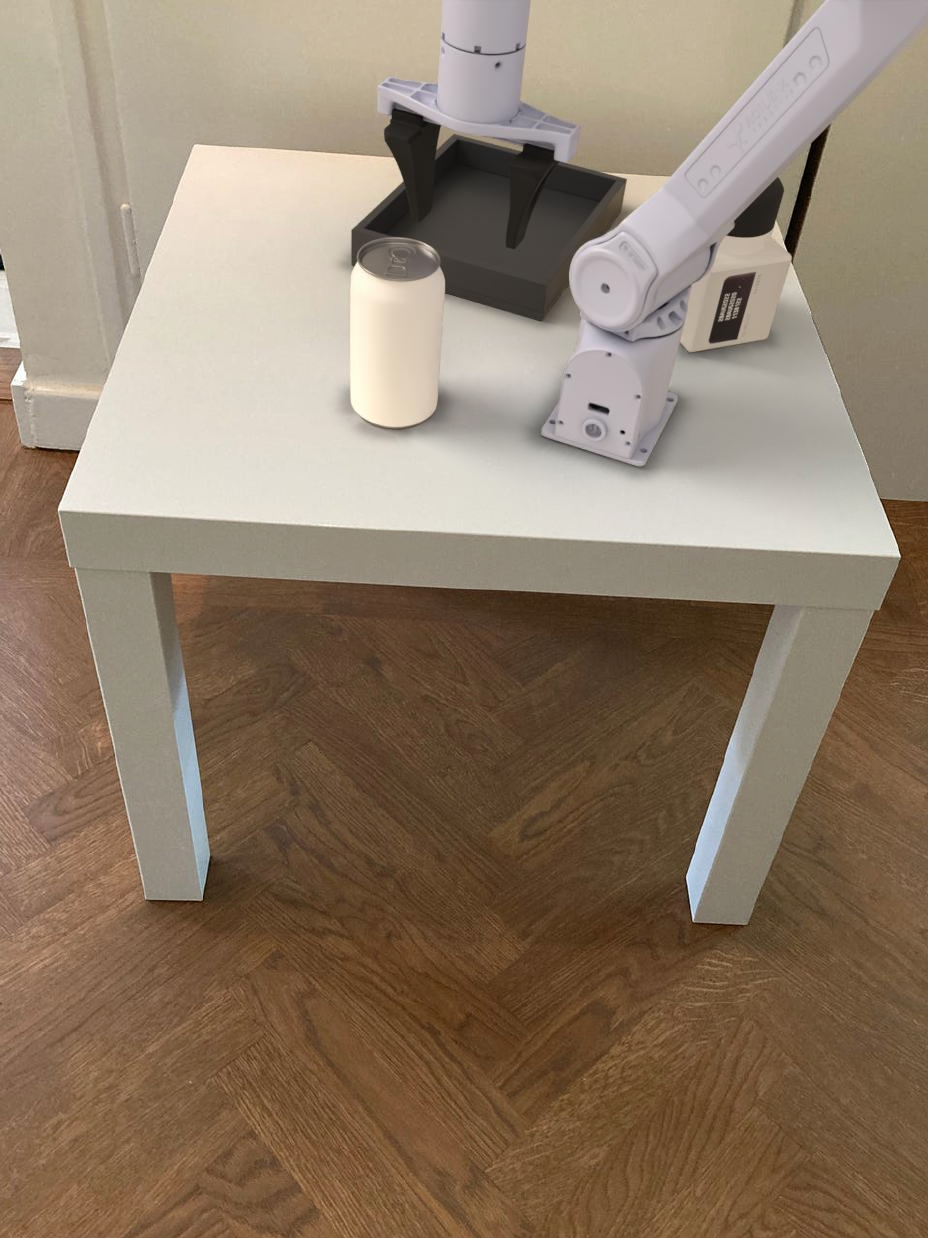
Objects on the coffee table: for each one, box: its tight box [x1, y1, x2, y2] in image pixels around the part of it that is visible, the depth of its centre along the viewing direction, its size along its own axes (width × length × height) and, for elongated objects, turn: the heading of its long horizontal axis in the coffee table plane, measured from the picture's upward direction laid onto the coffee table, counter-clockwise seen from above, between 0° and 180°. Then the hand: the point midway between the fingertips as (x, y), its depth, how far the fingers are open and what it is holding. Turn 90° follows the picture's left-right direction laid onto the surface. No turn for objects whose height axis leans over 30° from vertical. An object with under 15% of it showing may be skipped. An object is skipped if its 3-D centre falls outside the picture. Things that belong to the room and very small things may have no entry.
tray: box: [350, 133, 628, 322], centre depth 103 cm, size 22×18×3 cm
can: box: [349, 237, 446, 430], centre depth 82 cm, size 6×6×12 cm
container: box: [680, 176, 793, 353], centre depth 92 cm, size 8×8×13 cm
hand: (467, 228), depth 86 cm, fingers open, 7 cm apart
